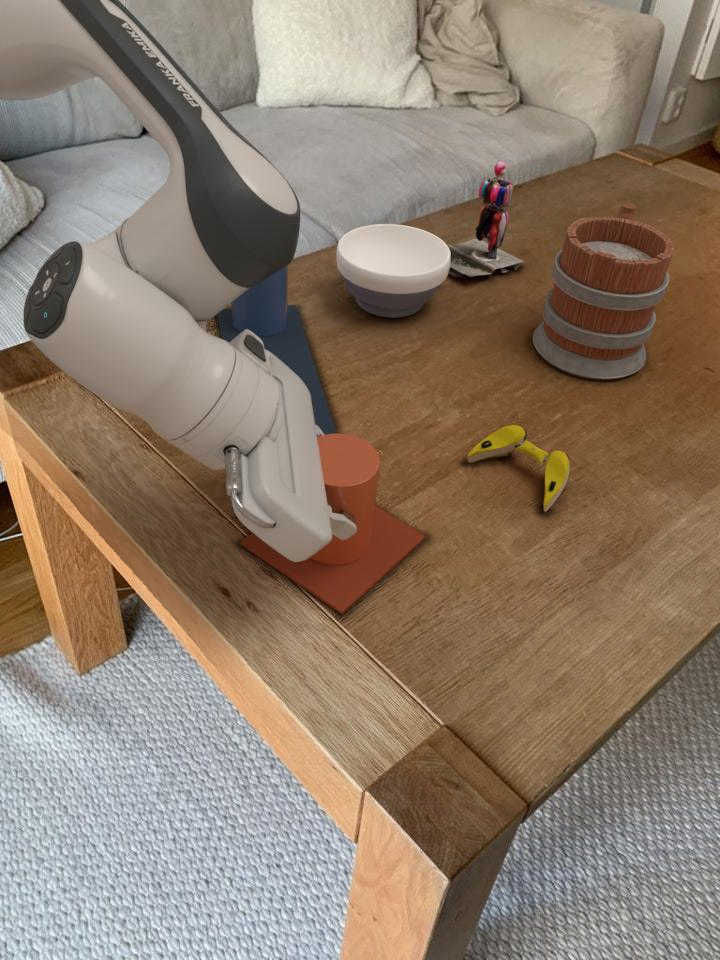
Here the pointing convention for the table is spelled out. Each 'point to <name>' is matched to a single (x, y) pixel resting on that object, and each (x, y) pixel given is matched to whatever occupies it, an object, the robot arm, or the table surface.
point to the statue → (487, 232)
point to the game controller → (515, 440)
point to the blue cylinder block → (263, 306)
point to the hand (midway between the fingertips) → (344, 496)
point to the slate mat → (290, 360)
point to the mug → (604, 296)
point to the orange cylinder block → (349, 492)
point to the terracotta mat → (351, 579)
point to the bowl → (392, 267)
